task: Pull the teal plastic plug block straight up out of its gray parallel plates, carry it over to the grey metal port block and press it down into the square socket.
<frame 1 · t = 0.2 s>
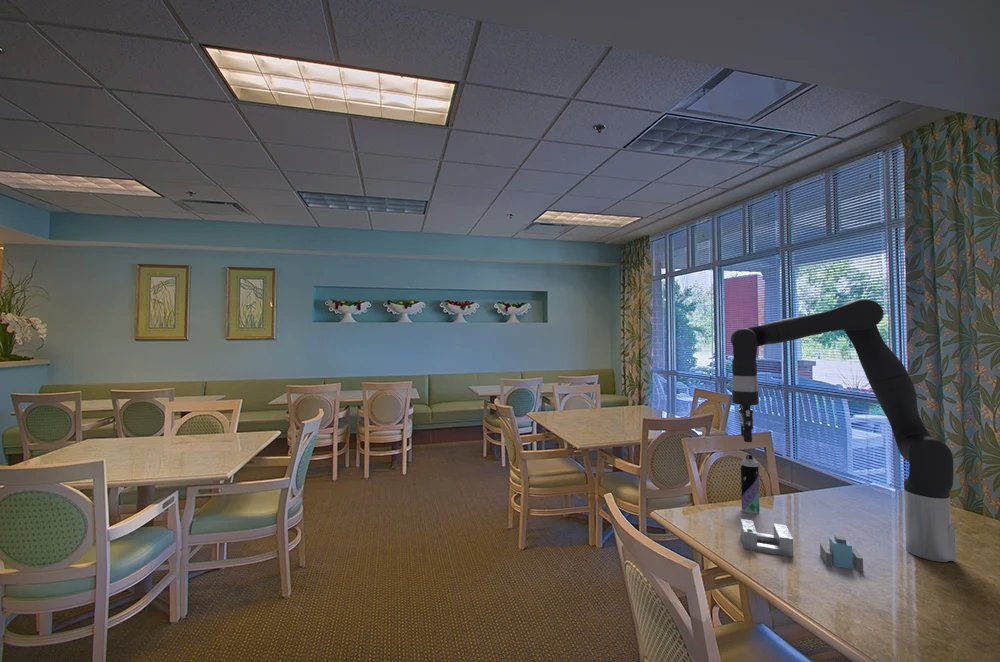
hand: (746, 439, 140), 29 cm above the table, tool pointing down, fingers open, 8 cm apart
spray can: (750, 511, 153), on the table
gray parallel plates: (841, 563, 116), on the table
plug: (841, 563, 116), on the table
port: (765, 545, 127), on the table
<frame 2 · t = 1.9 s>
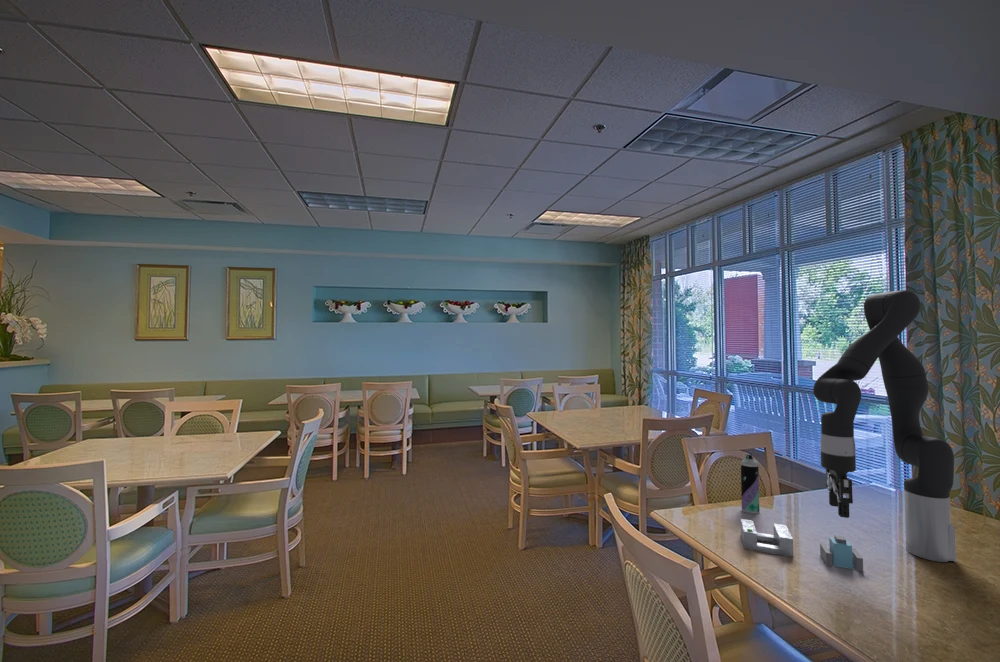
hand: (838, 511, 117), 14 cm above the table, tool pointing down, fingers open, 8 cm apart
nothing on the table moved.
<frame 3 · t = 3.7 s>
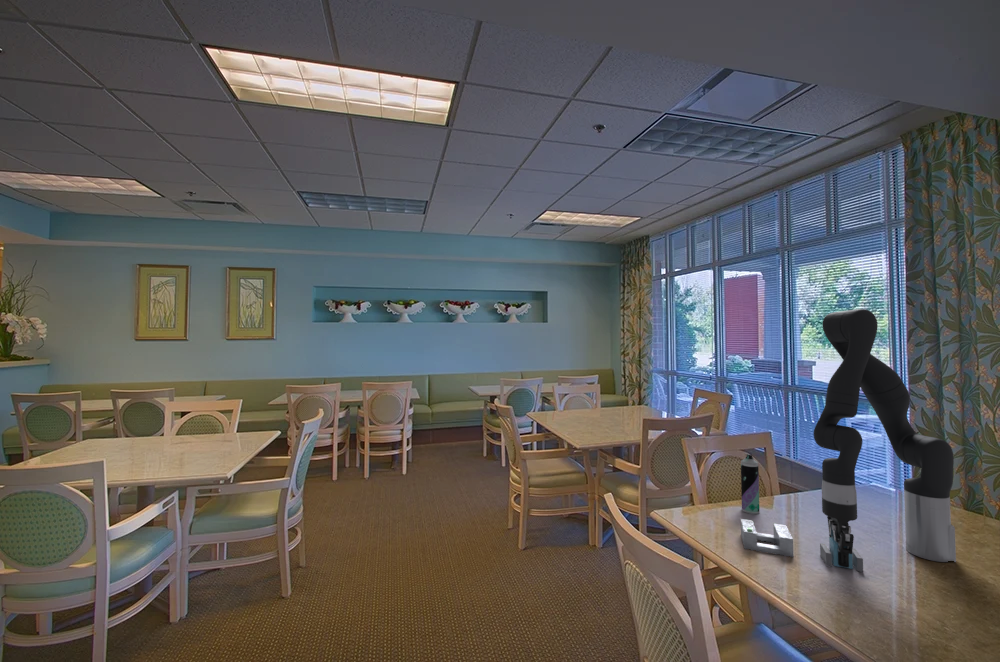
hand: (840, 561, 116), 0 cm above the table, tool pointing down, fingers closed on plug, 4 cm apart
plug: (840, 563, 116), on the table, touching gripper
everything else where it was.
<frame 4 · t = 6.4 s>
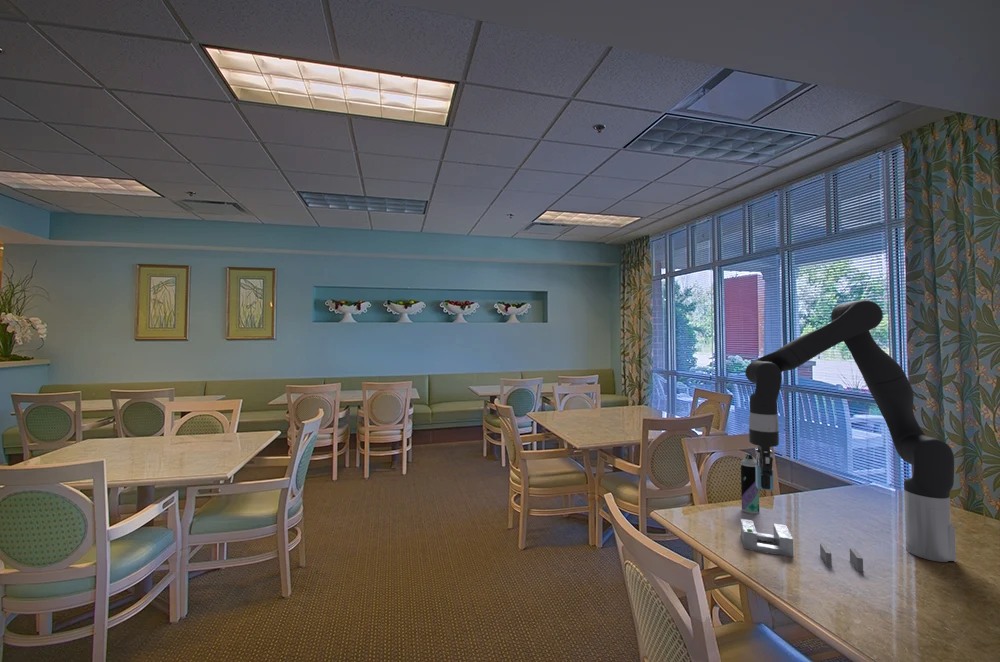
hand: (764, 485, 127), 18 cm above the table, tool pointing down, fingers closed on plug, 4 cm apart
plug: (764, 487, 127), point 17 cm above the table, touching gripper
everything else where it was.
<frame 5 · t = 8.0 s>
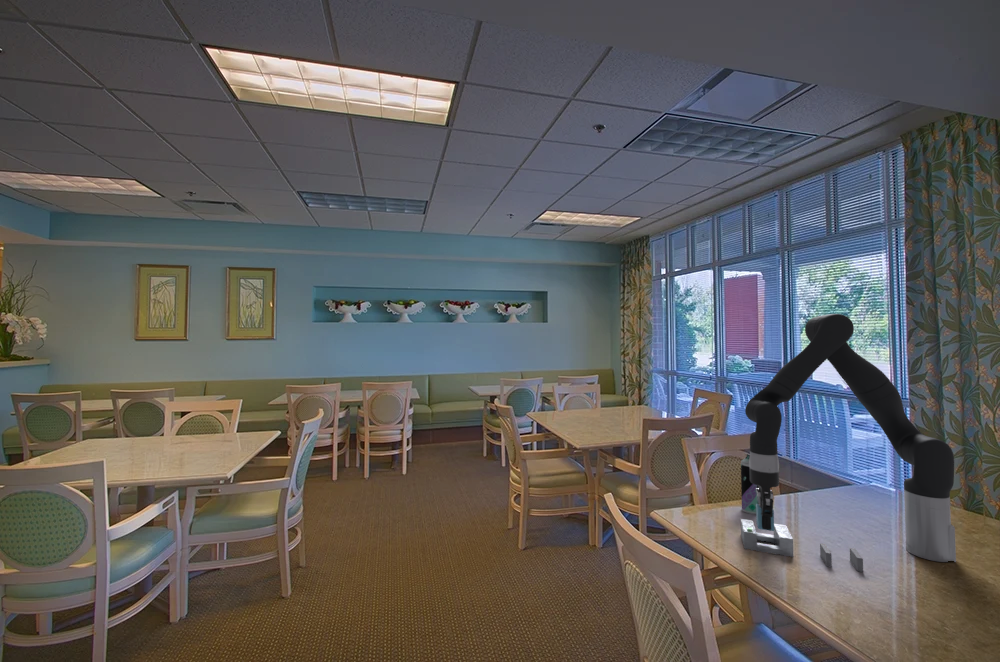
hand: (765, 525, 127), 6 cm above the table, tool pointing down, fingers closed on plug, 4 cm apart
plug: (765, 527, 127), point 5 cm above the table, touching gripper
everything else where it was.
when the fingers open (2 cm above the table, at t = 9.1 s): plug drops 2 cm, on the table.
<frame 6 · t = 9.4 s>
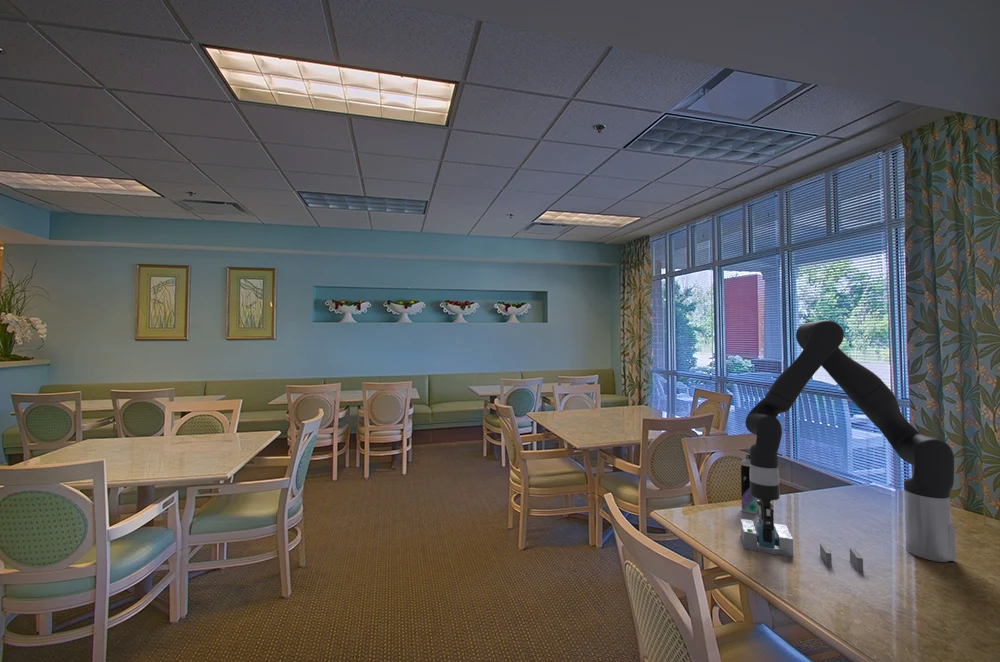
hand: (765, 536, 127), 3 cm above the table, tool pointing down, fingers open, 7 cm apart
plug: (765, 545, 127), on the table
everything else where it was.
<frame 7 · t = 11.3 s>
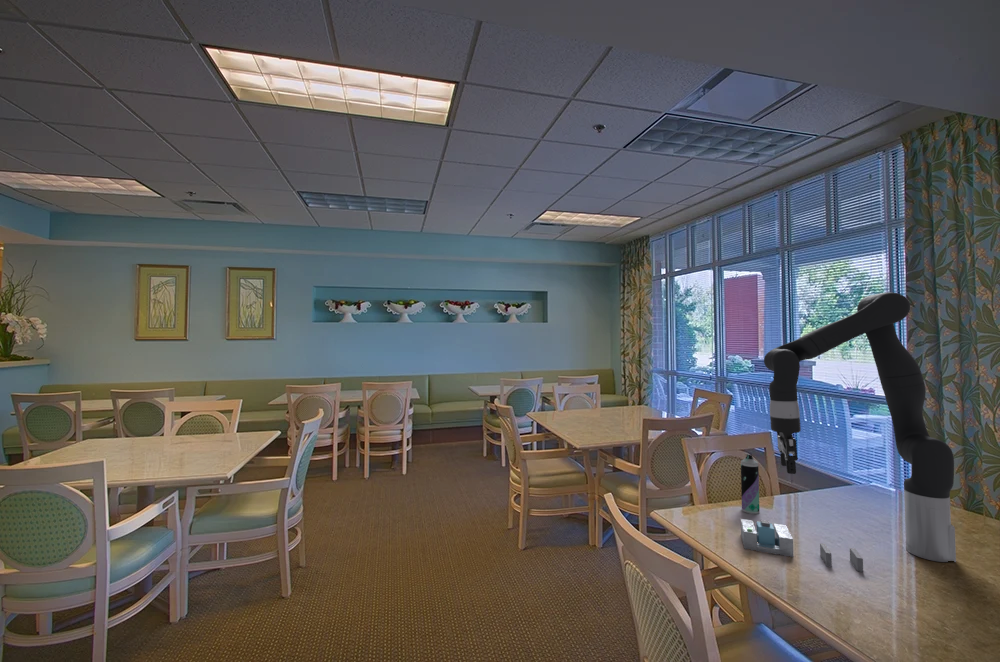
hand: (788, 469, 129), 22 cm above the table, tool pointing down, fingers open, 8 cm apart
nothing on the table moved.
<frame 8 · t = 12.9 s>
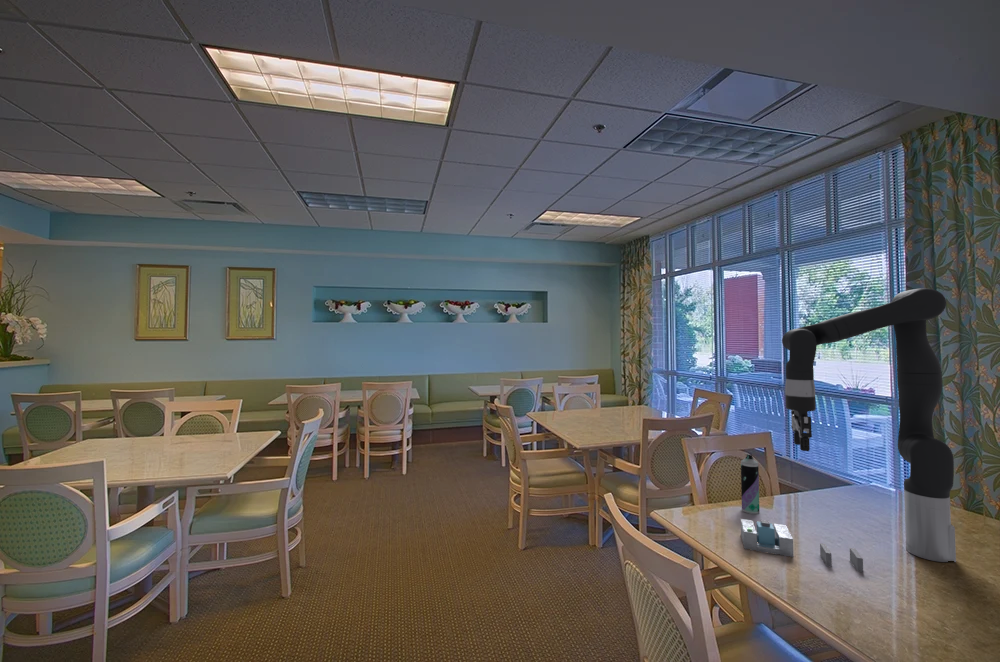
hand: (801, 447, 131), 28 cm above the table, tool pointing down, fingers open, 8 cm apart
nothing on the table moved.
at the end: plug 0.0 cm off-centre on the port, point 0.0 cm above the port's base; plug tilted 0°; the gripper is holding nothing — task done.
